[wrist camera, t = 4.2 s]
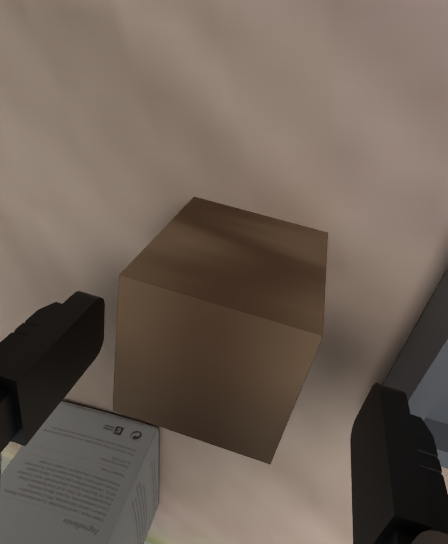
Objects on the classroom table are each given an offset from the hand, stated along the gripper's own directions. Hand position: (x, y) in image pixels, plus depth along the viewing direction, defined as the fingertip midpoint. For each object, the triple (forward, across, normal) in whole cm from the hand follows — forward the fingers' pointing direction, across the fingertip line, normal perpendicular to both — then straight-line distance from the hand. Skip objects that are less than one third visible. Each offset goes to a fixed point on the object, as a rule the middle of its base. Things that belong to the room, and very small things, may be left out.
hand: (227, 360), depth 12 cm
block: (+5, 0, 0) cm, 5 cm away
